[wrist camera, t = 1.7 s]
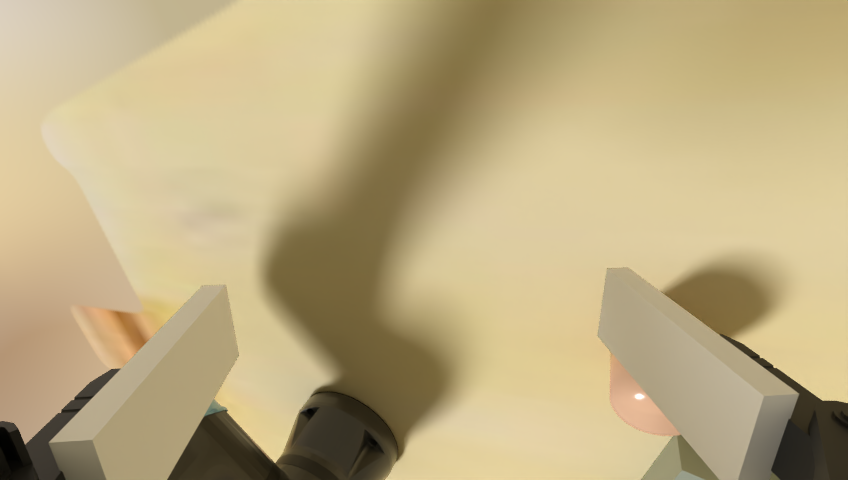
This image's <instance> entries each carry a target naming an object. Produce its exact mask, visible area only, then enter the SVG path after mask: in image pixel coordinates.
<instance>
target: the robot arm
mask: <svg viewBox="0 0 848 480" xmlns="http://www.w3.org/2000/svg"><path fill="white" fill-rule="evenodd" d="M597 336H598V337H599V338H600V340H601V341H602V342H603V343H604V344H605V346H606V347H607V348H608V349H609V350H610V351H611V353H612V354H613V355H614V356H615V357H616V358H617V360H618V361H619V362H620V363H621V364H622V366H623V367H624V368H625V369H626V370H627V371H628V373H629V374H630V375H631V376H632V377H633V379H634V380H635V381H636V382H637V383H638V384H639V386H640V387H641V388H642V389H643V390H644V391H645V393H646V394H647V395H648V396H649V397H650V399H651V400H652V401H653V402H654V403H655V404H656V406H657V407H658V408H659V409H660V410H661V412H662V413H663V414H664V415H665V416H666V417H667V419H668V420H669V421H670V422H671V423H672V424H673V426H674V427H675V428H676V429H677V430H678V432H679V433H680V434H681V435H682V436H683V437H684V439H685V440H686V441H687V442H688V443H689V445H690V446H691V447H692V448H693V449H694V450H695V452H696V453H697V454H698V455H699V456H700V457H701V459H702V460H703V461H704V462H705V463H706V465H707V466H708V467H709V468H710V469H711V470H712V472H713V473H714V474H715V475H716V476H717V478H718V479H719V480H769V479H770V477H771V474H772V472H773V473H774V474H775V475H776V476H777V477H778V478H779V479H780V480H848V403H844V402H839V401H822V400H821V399H819V398H818V397H816V396H815V395H814V394H812V393H811V392H809V391H808V390H807V389H805V388H804V387H802V386H801V385H800V384H798V383H797V382H795V381H794V380H793V379H791V378H790V377H788V376H787V375H786V374H784V373H783V372H781V371H780V370H779V369H777V368H773V365H772V364H770V363H769V362H767V361H766V360H765V359H763V358H760V356H759V355H758V354H756V353H755V352H753V351H752V350H751V349H749V348H748V347H746V346H745V345H744V344H742V343H740V342H737V341H735V340H733V339H731V338H729V337H727V336H724V335H722V334H720V335H719V334H717V333H716V332H715V331H713V330H712V329H711V328H709V327H708V326H707V325H705V324H704V323H702V322H701V321H700V320H698V319H697V318H696V317H694V316H693V315H692V314H690V313H689V312H688V311H686V310H685V309H683V308H682V307H681V306H679V305H678V304H677V303H675V302H674V301H673V300H671V299H670V298H669V297H667V296H666V295H664V294H663V293H662V292H660V291H659V290H658V289H656V288H655V287H654V286H652V285H651V284H650V283H648V282H647V281H646V280H644V279H643V278H641V277H640V276H639V275H637V274H636V273H635V272H633V271H632V270H631V269H629V268H628V267H627V268H607V272H606V279H605V286H604V293H603V300H602V307H601V314H600V321H599V328H598V335H597ZM238 356H239V352H238V346H237V341H236V336H235V330H234V325H233V320H232V314H231V309H230V304H229V299H228V293H227V288H226V285H209V286H202V287H201V288H200V289H199V290H198V291H197V292H196V293H195V294H194V295H193V296H192V297H191V298H190V299H189V300H188V301H187V302H186V303H185V304H184V305H183V306H182V307H181V308H180V309H179V310H178V311H177V312H176V313H175V314H174V315H173V316H172V317H171V318H170V319H169V320H168V321H167V322H166V323H165V324H164V325H163V326H162V327H161V328H160V329H159V330H158V331H157V332H156V334H155V335H154V336H153V337H152V338H151V339H150V340H149V341H148V342H147V343H146V344H145V345H144V346H143V347H142V348H141V349H140V350H139V351H138V352H137V353H136V354H135V355H134V356H133V357H132V358H131V359H130V360H129V361H128V362H127V363H126V364H125V365H124V366H123V367H122V368H121V369H111V370H110V371H108V372H106V373H105V374H103V375H102V376H100V377H98V378H97V379H95V380H93V381H92V382H90V383H89V384H88V385H87V386H86V387H85V388H84V389H83V390H82V391H81V392H80V393H79V394H78V395H77V396H76V397H75V399H74V400H72V401H70V402H69V403H68V404H67V405H66V406H65V407H64V408H63V409H62V412H61V413H58V414H57V415H56V416H55V417H54V418H53V419H52V420H51V421H50V422H49V423H47V424H46V426H44V427H43V428H42V429H41V430H40V431H39V432H38V433H37V434H36V435H35V436H34V437H33V438H32V439H31V440H30V441H29V442H28V443H27V444H26V445H25V444H24V441H23V439H22V437H21V434H20V432H19V430H18V428H17V427H16V425H15V424H14V423H10V422H4V421H1V422H0V480H385V479H386V478H387V476H388V475H389V473H390V472H391V470H392V468H393V466H394V464H395V462H396V459H397V455H398V449H397V444H396V441H395V438H394V436H393V434H392V433H391V431H390V429H389V428H388V427H387V425H386V424H385V423H384V422H383V421H382V419H381V418H380V417H379V416H378V415H376V414H375V413H374V412H373V411H372V410H371V409H369V408H368V407H366V406H365V405H363V404H362V403H360V402H358V401H357V400H355V399H353V398H350V397H348V396H345V395H342V394H338V393H333V392H322V393H318V394H315V395H313V396H312V397H310V398H309V400H308V401H307V402H306V403H305V405H304V406H303V407H302V408H301V410H300V411H299V413H298V415H297V417H296V420H295V423H294V425H293V428H292V431H291V433H290V436H289V438H288V441H287V444H286V446H285V449H284V452H283V454H282V455H281V457H280V458H279V459H278V461H277V462H276V463H274V462H273V461H272V459H270V458H269V456H268V455H267V454H266V453H265V452H264V451H263V450H262V449H261V448H260V447H259V446H258V445H257V444H256V443H255V442H254V441H253V440H252V439H251V438H250V436H249V435H248V434H247V433H246V432H245V431H244V430H243V429H242V428H241V427H240V426H239V425H238V424H237V423H236V422H235V421H234V420H233V419H232V417H231V416H230V415H229V414H228V413H227V411H228V410H227V408H225V407H222V406H220V405H219V404H218V403H217V402H216V401H215V400H214V398H215V396H216V394H217V393H218V391H219V389H220V387H221V386H222V384H223V382H224V380H225V379H226V377H227V375H228V374H229V372H230V370H231V368H232V367H233V365H234V363H235V361H236V360H237V358H238Z"/></svg>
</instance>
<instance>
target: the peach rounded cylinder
mask: <svg viewBox="0 0 848 480" xmlns="http://www.w3.org/2000/svg"><path fill="white" fill-rule="evenodd" d="M610 403H611V405H612V408H613V409H614V411H615V412H616V414H617V415H618V416H619V417H620V418H621V419H622V420H623V421H624V422H626V423H627V424H629V425H630V426H632V427H634V428H636V429H638V430H640V431H643V432H646V433H650V434H654V435H661V436H677V435H681V434H680V433H679V432H678V430H677V429H676V428H675V427H674V426H673V424H672V423H671V422H670V421H669V420H668V419H667V417H666V416H665V415H664V414H663V413H662V412H661V410H660V409H659V408H658V407H657V406H656V404H655V403H654V402H653V401H652V400H651V399H650V397H649V396H648V395H647V394H646V393H645V391H644V390H643V389H642V388H641V387H640V386H639V384H638V383H637V382H636V381H635V380H634V379H633V377H632V376H631V375H630V374H629V373H628V371H627V370H626V369H625V368H624V367H623V366H622V364H621V363H620V362H619V361H618V360H617V358H616V357H615V356H614V355H613V354H612V353H611V351H610Z"/></svg>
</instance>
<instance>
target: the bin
mask: <svg viewBox="0 0 848 480" xmlns="http://www.w3.org/2000/svg"><path fill="white" fill-rule="evenodd" d="M641 480H719V479H718V478H717V476H716V475H715V474H714V473H713V472H712V470H711V469H710V468H709V467H708V466H707V465H706V463H705V462H704V461H703V460H702V459H701V457H700V456H699V455H698V454H697V453H696V452H695V450H694V449H693V448H692V447H691V446H690V445H689V443H688V442H687V441H686V440H685V439H684V437H683V436H682V435H677V436H673V437H672V439H671V440H670V441H669V443H668V444H667V446H666V447H665V448H664V450H663V451H662V452H661V454H660V455H659V456H658V458H657V459H656V460H655V462H654V463H653V465H652V466H651V467H650V469H649V470H648V471H647V473H646V474H645V475H644V477H643V478H642V479H641ZM769 480H780V479H779V478H778V477H777V476H776V475H775V474H774V473H773V472H772V474H771V477H770V479H769Z"/></svg>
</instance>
